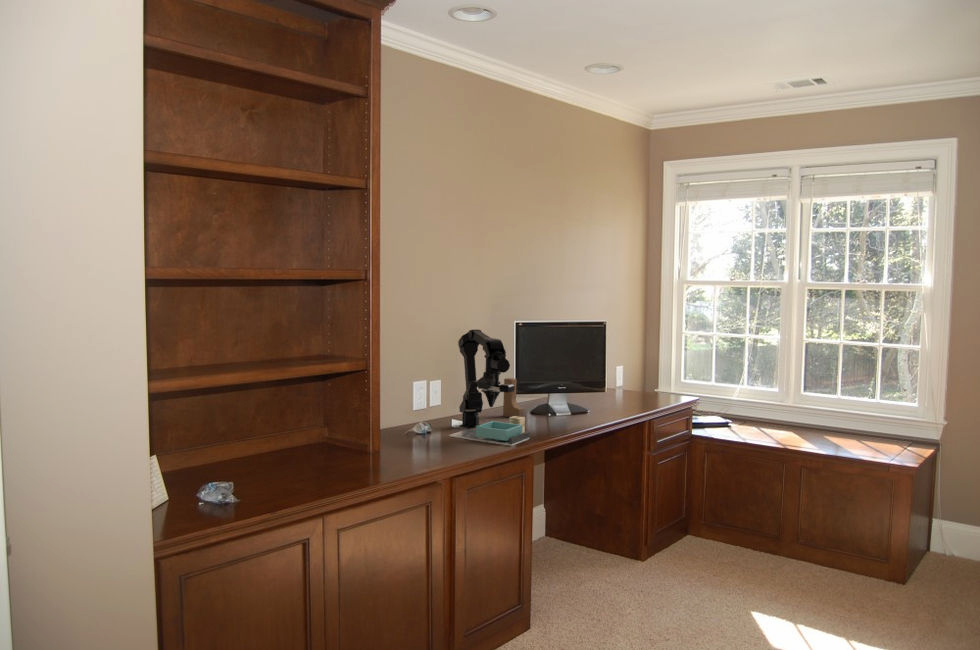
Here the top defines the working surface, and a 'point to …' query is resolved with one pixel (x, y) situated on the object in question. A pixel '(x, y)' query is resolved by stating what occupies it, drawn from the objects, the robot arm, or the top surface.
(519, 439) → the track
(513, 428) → the teal storage bin
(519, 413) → the wooden block
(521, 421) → the part
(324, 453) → the top surface
